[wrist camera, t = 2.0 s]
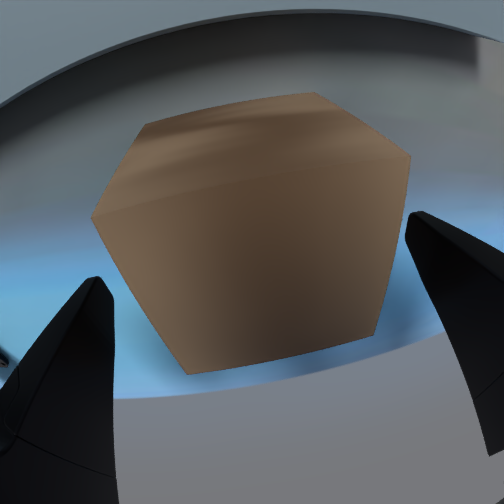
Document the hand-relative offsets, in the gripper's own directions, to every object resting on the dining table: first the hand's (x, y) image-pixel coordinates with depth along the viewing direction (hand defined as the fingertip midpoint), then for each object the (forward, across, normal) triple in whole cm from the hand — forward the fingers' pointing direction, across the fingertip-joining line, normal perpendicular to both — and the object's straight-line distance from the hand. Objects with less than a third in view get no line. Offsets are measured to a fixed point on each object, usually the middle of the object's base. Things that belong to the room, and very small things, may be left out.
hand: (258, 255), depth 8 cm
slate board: (+4, 0, -12) cm, 13 cm away
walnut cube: (+4, 0, 0) cm, 5 cm away
